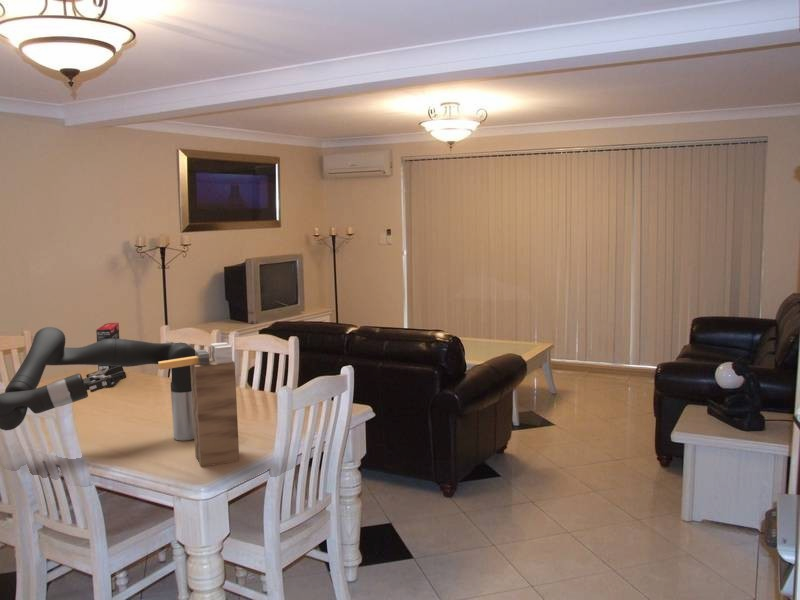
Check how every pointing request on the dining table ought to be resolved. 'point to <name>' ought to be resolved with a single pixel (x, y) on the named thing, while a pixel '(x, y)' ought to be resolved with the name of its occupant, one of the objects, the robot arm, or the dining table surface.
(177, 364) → the block
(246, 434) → the dining table surface
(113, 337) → the graphics card box
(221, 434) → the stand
